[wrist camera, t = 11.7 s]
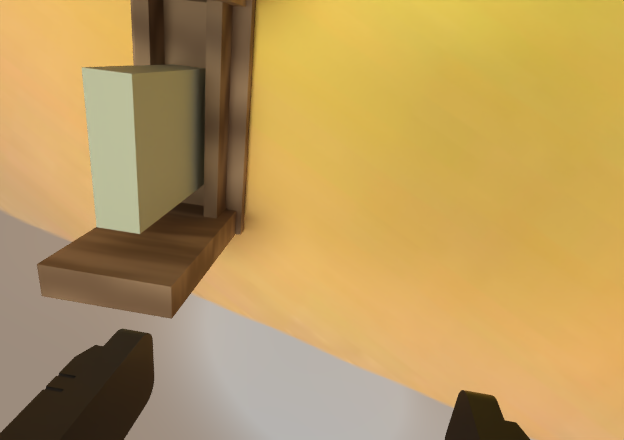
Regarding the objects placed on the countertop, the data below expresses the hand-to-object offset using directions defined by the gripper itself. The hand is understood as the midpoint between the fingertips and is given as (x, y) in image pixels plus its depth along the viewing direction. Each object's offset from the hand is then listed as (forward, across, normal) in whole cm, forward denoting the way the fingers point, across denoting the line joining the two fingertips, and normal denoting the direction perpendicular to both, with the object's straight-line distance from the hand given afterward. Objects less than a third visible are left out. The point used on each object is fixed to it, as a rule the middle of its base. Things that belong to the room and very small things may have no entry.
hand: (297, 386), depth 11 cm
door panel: (+27, +14, -1) cm, 31 cm away
